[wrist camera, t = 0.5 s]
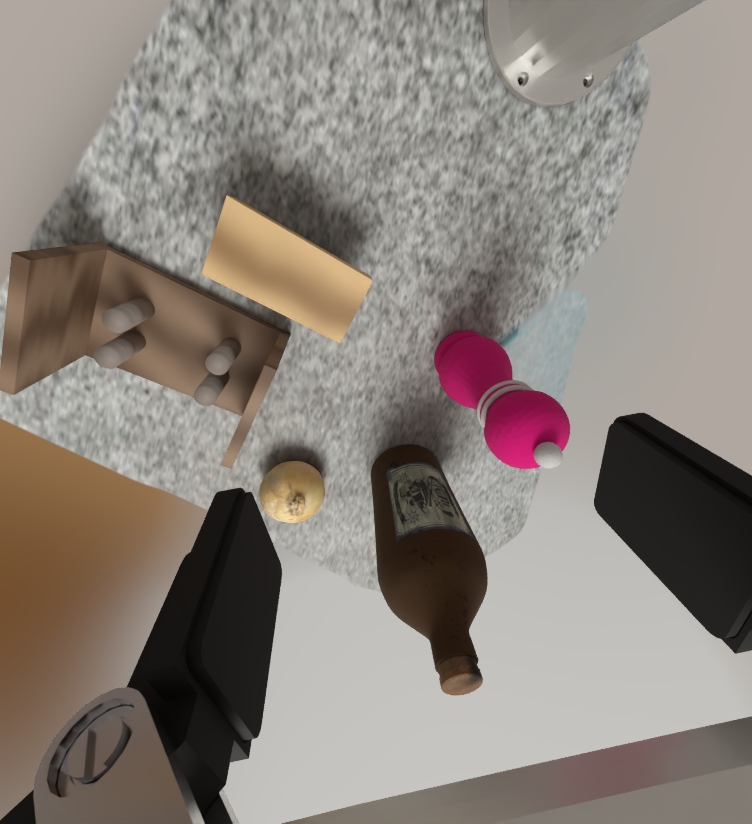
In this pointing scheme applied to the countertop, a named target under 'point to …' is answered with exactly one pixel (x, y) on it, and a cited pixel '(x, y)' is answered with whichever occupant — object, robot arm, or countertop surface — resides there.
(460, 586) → the olive oil
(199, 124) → the countertop surface
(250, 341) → the shelf cradle
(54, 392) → the countertop surface
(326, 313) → the oak board
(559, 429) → the pepper mill
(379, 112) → the countertop surface
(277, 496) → the onion
